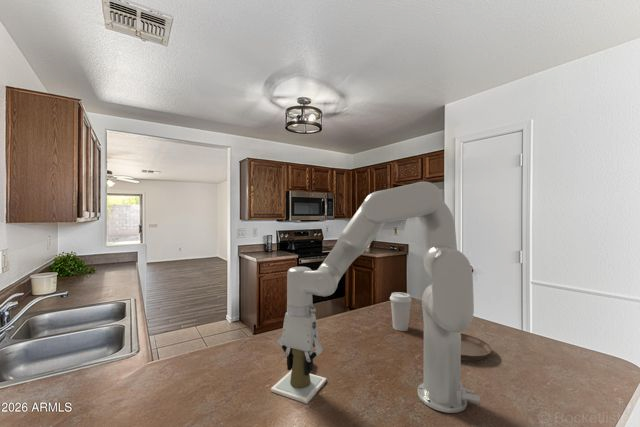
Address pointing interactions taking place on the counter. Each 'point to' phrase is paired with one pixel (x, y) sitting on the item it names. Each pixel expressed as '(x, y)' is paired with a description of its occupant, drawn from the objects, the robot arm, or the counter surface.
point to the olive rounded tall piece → (299, 370)
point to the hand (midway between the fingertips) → (299, 370)
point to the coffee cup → (400, 310)
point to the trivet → (298, 388)
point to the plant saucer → (473, 348)
